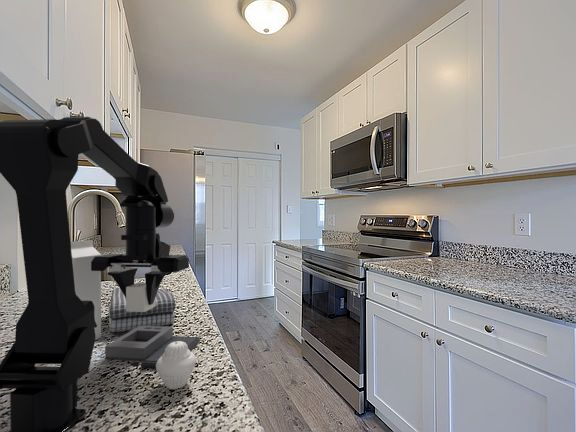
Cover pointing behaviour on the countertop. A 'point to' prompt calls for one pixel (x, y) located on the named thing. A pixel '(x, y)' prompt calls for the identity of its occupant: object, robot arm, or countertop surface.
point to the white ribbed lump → (176, 365)
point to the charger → (137, 298)
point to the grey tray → (138, 343)
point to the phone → (154, 357)
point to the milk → (87, 278)
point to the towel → (131, 320)
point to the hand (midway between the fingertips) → (141, 304)
